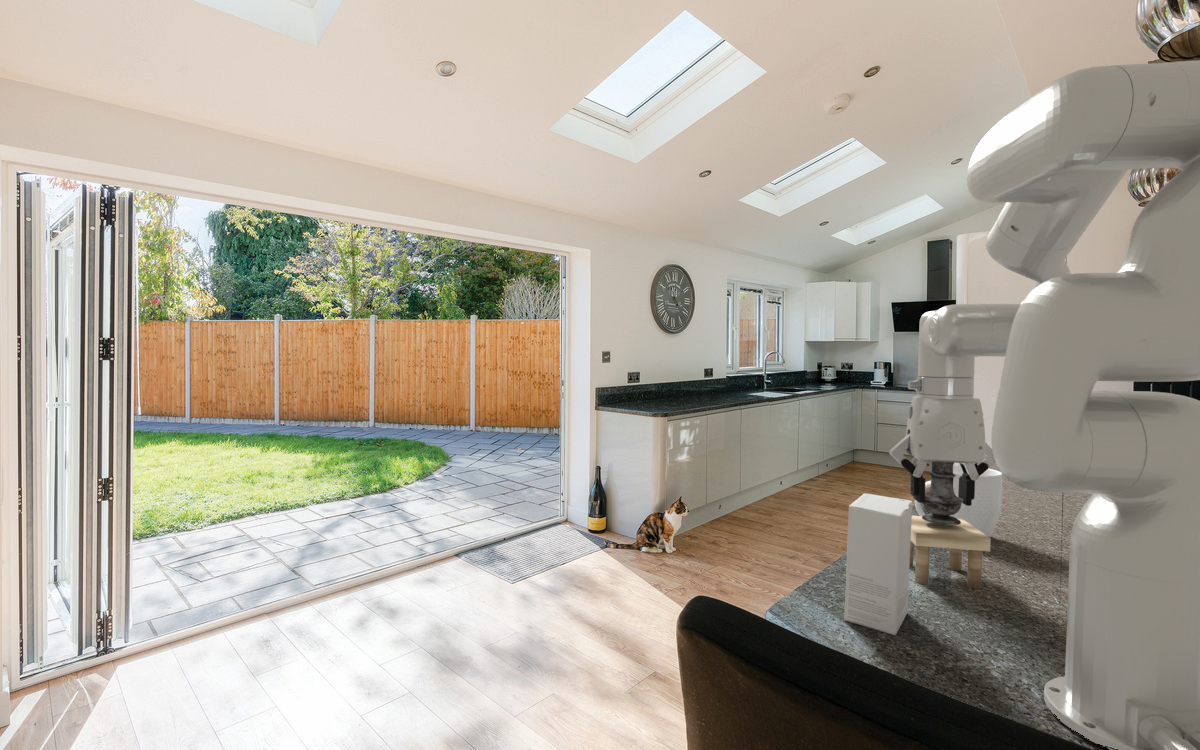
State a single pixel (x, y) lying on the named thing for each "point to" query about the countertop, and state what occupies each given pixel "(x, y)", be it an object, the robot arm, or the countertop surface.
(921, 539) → the stool
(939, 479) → the salt shaker
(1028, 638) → the countertop surface
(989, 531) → the mug
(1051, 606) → the countertop surface
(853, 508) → the skincare box
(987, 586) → the countertop surface
